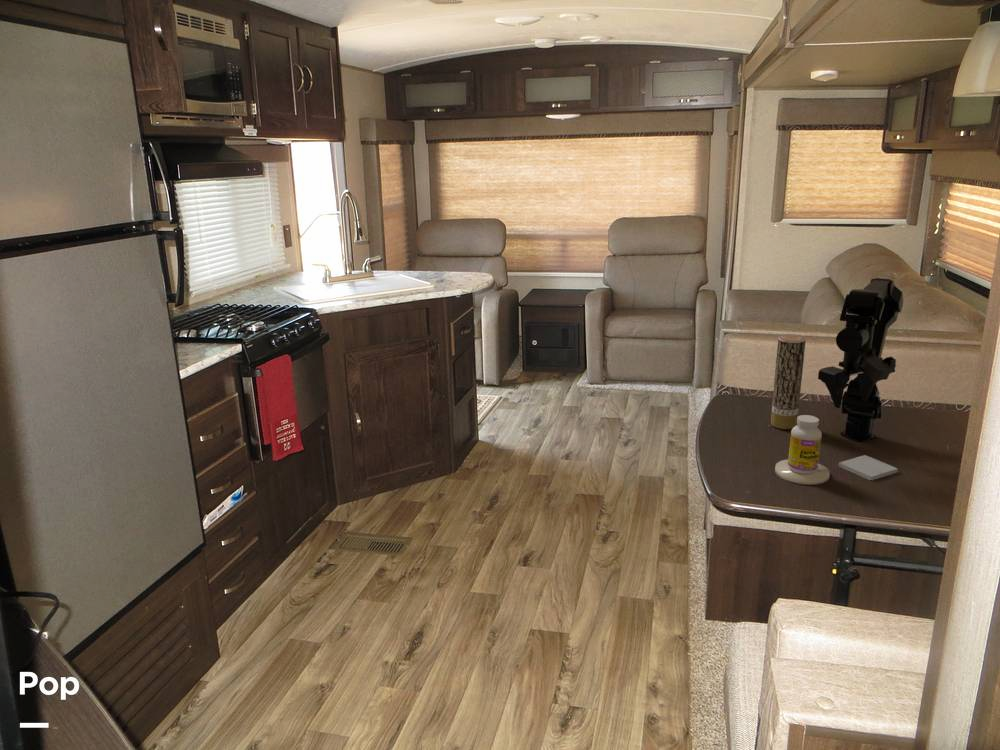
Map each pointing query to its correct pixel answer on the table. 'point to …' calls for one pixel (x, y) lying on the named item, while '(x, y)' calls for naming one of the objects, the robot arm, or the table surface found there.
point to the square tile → (868, 467)
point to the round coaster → (807, 479)
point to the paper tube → (787, 381)
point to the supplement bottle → (805, 445)
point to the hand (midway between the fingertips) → (850, 404)
